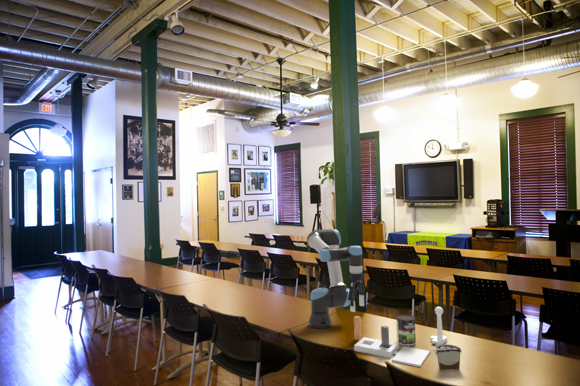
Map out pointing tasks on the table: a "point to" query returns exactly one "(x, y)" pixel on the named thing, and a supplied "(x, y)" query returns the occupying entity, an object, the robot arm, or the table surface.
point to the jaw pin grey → (385, 336)
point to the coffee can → (406, 330)
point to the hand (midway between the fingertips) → (357, 308)
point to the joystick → (439, 329)
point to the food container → (448, 357)
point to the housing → (375, 347)
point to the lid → (411, 356)
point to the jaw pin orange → (357, 327)
